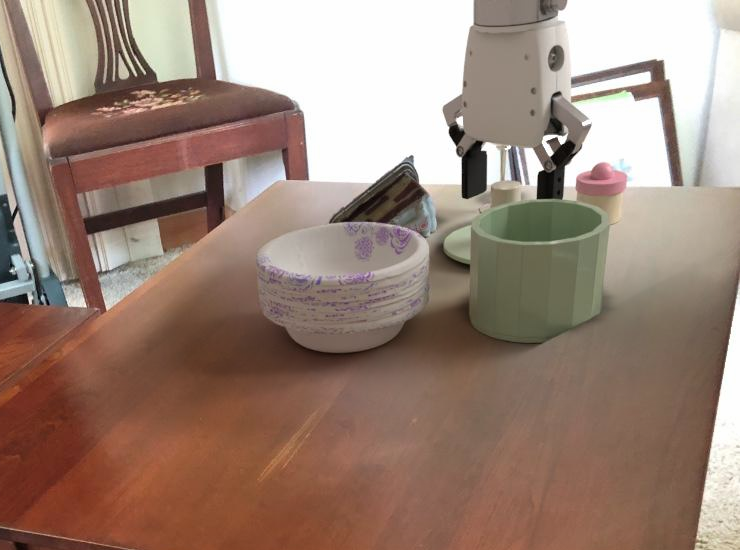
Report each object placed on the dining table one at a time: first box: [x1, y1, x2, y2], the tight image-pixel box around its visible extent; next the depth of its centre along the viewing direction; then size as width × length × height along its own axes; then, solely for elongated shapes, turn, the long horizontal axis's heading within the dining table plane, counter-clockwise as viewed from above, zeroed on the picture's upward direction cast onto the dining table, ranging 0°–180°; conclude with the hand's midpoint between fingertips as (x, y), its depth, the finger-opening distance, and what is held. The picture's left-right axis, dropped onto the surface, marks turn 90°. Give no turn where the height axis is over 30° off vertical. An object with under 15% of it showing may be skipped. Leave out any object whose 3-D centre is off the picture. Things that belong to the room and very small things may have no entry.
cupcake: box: [575, 161, 628, 226], centre depth 103 cm, size 5×5×6 cm
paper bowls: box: [255, 222, 430, 354], centre depth 86 cm, size 15×15×8 cm
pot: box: [468, 198, 611, 344], centre depth 84 cm, size 11×11×8 cm
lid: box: [443, 179, 522, 265], centre depth 98 cm, size 12×12×7 cm
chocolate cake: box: [327, 154, 438, 238], centre depth 106 cm, size 10×7×12 cm
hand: (510, 202), depth 97 cm, fingers open, 9 cm apart
